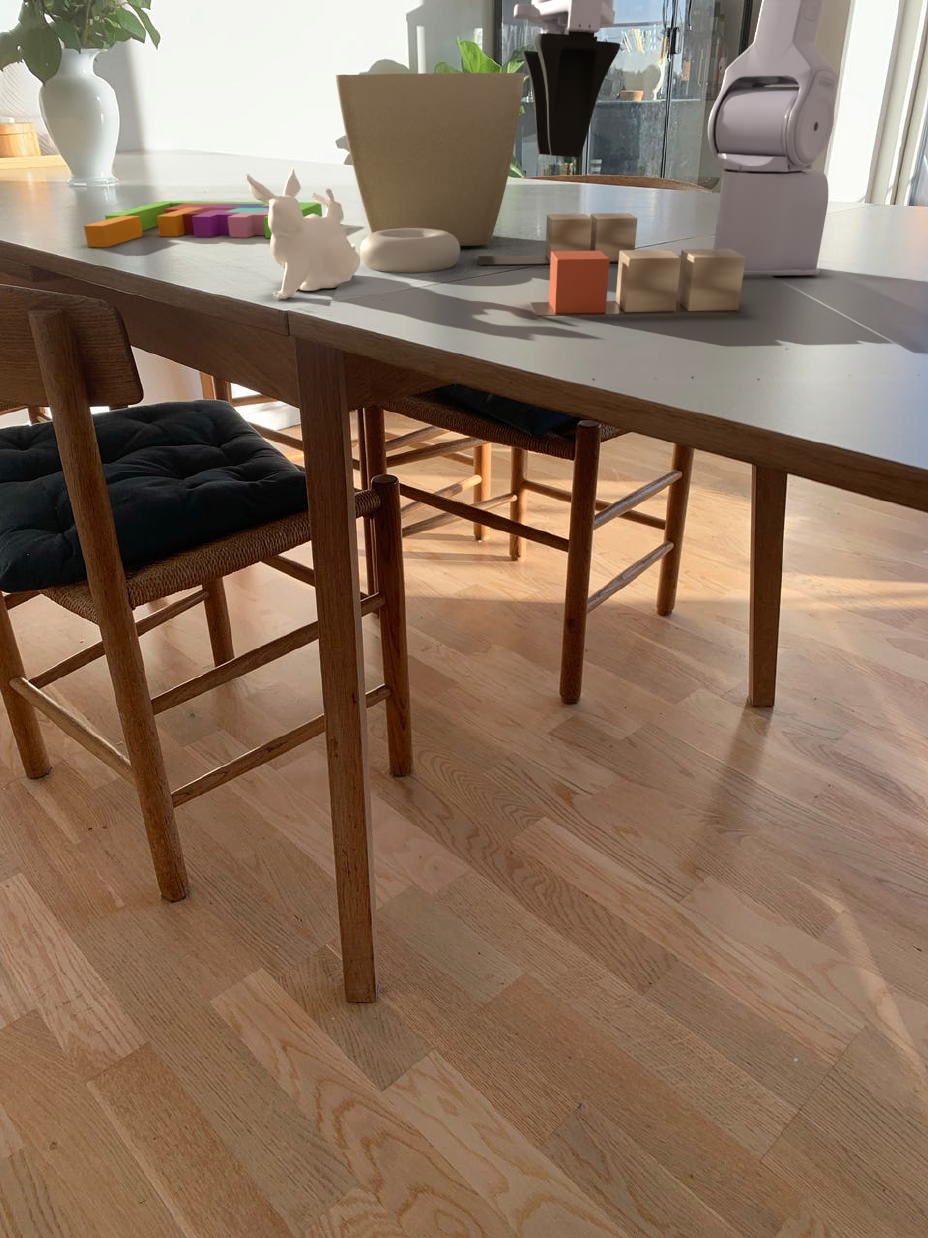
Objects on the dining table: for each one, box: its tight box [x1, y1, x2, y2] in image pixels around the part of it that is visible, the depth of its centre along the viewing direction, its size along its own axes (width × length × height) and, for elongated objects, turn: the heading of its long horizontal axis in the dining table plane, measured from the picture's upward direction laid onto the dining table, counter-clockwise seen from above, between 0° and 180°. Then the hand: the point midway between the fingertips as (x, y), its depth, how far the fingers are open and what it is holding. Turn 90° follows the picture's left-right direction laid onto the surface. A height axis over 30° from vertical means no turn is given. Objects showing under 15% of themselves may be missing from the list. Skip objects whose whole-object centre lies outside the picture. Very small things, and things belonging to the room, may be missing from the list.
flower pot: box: [335, 72, 526, 247], centre depth 103 cm, size 19×19×17 cm
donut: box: [359, 228, 461, 274], centre depth 91 cm, size 10×4×10 cm
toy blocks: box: [83, 200, 323, 248], centre depth 114 cm, size 23×2×25 cm
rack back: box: [477, 212, 638, 268], centre depth 93 cm, size 16×5×4 cm, turn 92°
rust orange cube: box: [548, 251, 610, 314], centre depth 72 cm, size 4×4×4 cm
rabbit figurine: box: [245, 167, 361, 300], centre depth 82 cm, size 12×8×10 cm, turn 140°
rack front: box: [529, 248, 746, 317], centre depth 72 cm, size 16×5×4 cm, turn 92°
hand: (558, 155), depth 68 cm, fingers open, 7 cm apart
